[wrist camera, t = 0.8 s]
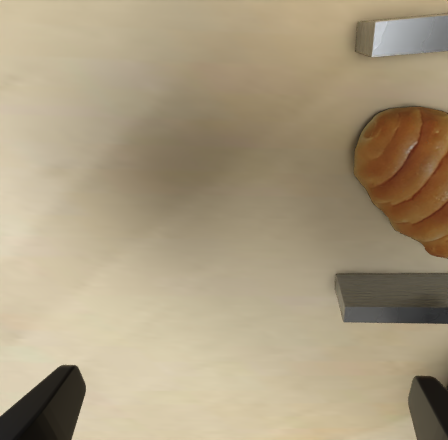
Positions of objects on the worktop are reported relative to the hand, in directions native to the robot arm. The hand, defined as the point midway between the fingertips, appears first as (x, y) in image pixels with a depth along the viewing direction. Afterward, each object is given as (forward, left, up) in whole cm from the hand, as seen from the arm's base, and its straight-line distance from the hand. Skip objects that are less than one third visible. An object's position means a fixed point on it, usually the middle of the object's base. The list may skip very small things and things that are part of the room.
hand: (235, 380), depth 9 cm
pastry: (0, -10, -13) cm, 17 cm away
